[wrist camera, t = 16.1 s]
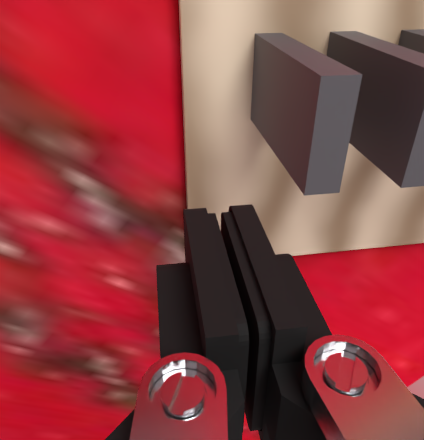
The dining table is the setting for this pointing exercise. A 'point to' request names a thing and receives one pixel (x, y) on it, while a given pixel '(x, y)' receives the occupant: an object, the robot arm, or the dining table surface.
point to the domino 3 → (412, 39)
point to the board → (258, 147)
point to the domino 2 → (386, 104)
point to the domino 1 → (304, 109)
